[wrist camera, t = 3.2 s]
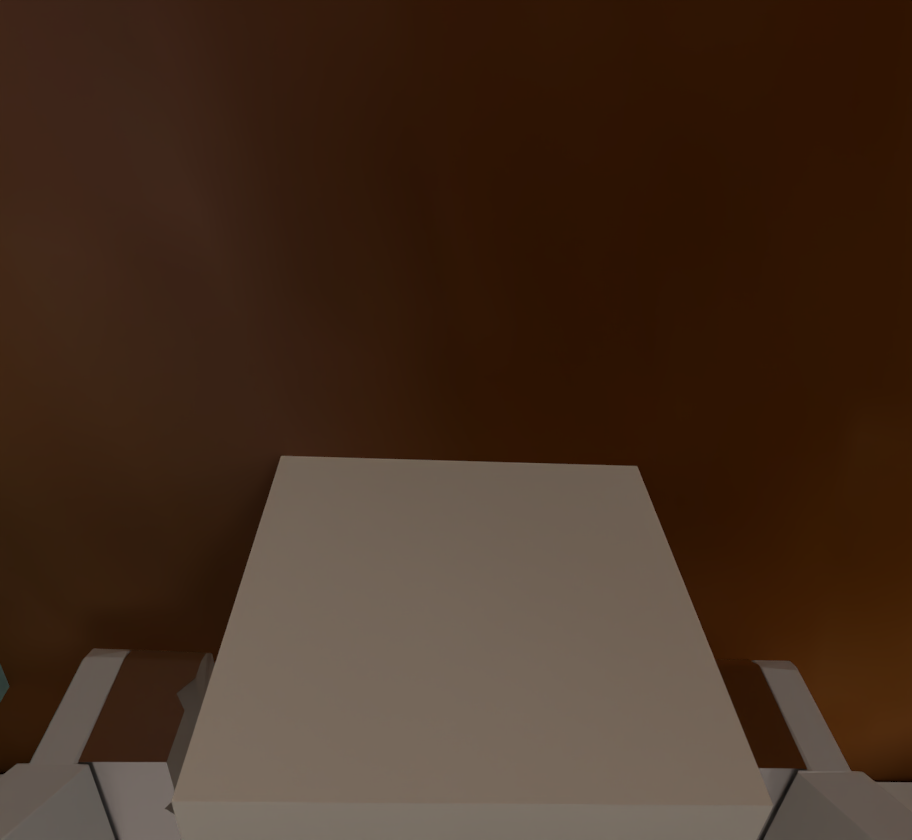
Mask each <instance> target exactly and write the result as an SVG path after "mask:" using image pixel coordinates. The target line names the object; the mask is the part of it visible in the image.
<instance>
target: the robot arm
mask: <svg viewBox="0 0 912 840" xmlns="http://www.w3.org/2000/svg"><path fill="white" fill-rule="evenodd" d="M715 661H716V664H717V666H718V669H719V671H720V674H721V676H722V679H723V681H724V684H725V686H726V689H727V691H728V694H729V696H730V699H731V701H732V704H733V706H734V709H735V711H736V714H737V716H738V719H739V721H740V724H741V726H742V729H743V731H744V734H745V736H746V739H747V741H748V744H749V746H750V748H751V751H752V753H753V756H754V758H755V761H756V763H757V766H758V768H759V771H760V773H761V776H762V778H763V781H764V783H765V786H766V788H767V791H768V793H769V796H770V798H771V801H772V803H773V807H772V809H771V811H770V813H769V815H768V818H767V820H766V822H765V824H764V826H763V828H762V830H761V832H760V834H759V836H758V838H757V840H912V812H911V811H910V810H909V809H908V808H906V807H905V806H904V805H903V804H902V803H900V802H899V801H898V800H897V799H895V798H894V797H893V796H892V795H891V794H889V793H888V792H887V791H886V790H884V789H883V788H882V787H881V786H880V785H878V784H877V783H876V782H875V781H874V780H872V779H871V778H870V777H869V776H867V775H866V774H865V773H864V772H861V771H851V769H850V768H849V766H848V764H847V762H846V760H845V758H844V756H843V754H842V752H841V750H840V749H839V747H838V745H837V743H836V741H835V739H834V737H833V735H832V733H831V731H830V730H829V728H828V726H827V724H826V722H825V720H824V718H823V716H822V714H821V712H820V711H819V709H818V707H817V705H816V703H815V701H814V699H813V697H812V695H811V693H810V692H809V690H808V688H807V686H806V684H805V682H804V680H803V678H802V676H801V674H800V673H799V671H798V669H797V667H796V666H795V665H794V664H793V663H791V662H790V661H772V660H752V661H750V660H748V659H715ZM214 665H215V664H214V660H213V655H212V653H205V652H182V651H159V650H135V649H97V648H93V649H92V650H91V652H90V653H89V654H88V655H87V656H86V657H85V658H84V659H83V660H82V662H81V664H80V666H79V668H78V670H77V672H76V673H75V675H74V677H73V679H72V681H71V683H70V685H69V687H68V689H67V691H66V693H65V695H64V697H63V699H62V701H61V703H60V705H59V707H58V709H57V710H56V712H55V714H54V716H53V718H52V720H51V722H50V724H49V726H48V728H47V730H46V732H45V734H44V736H43V738H42V740H41V742H40V744H39V745H38V747H37V749H36V751H35V753H34V755H33V757H32V759H31V761H30V763H17V764H16V765H14V766H13V767H12V768H11V769H9V770H8V771H7V772H6V773H4V774H3V775H2V776H1V777H0V840H182V839H181V835H180V832H179V828H178V824H177V821H176V817H175V813H174V810H173V806H172V802H171V801H172V798H173V795H174V791H175V788H176V785H177V782H178V779H179V776H180V773H181V769H182V766H183V763H184V760H185V757H186V754H187V750H188V747H189V744H190V741H191V738H192V735H193V732H194V728H195V725H196V722H197V719H198V716H199V713H200V710H201V706H202V703H203V700H204V697H205V694H206V691H207V687H208V684H209V681H210V678H211V675H212V672H213V669H214Z"/></svg>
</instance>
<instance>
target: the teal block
mask: <svg viewBox="0 0 912 840" xmlns="http://www.w3.org/2000/svg"><path fill="white" fill-rule="evenodd" d="M9 687H10V686H9V684H8V681H7V679H6V677H5V674H4V672H3V669H2V667H1V665H0V702H1V700H2V698H3V697H4V695H5V693H6V692H7V690H8V688H9Z"/></svg>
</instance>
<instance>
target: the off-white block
mask: <svg viewBox="0 0 912 840" xmlns="http://www.w3.org/2000/svg"><path fill="white" fill-rule="evenodd" d="M171 802H172V806H173V810H174V813H175V817H176V821H177V824H178V828H179V832H180V835H181V839H182V840H757V838H758V836H759V834H760V832H761V830H762V828H763V826H764V824H765V822H766V820H767V818H768V815H769V813H770V811H771V809H772V807H773V803H772V801H771V798H770V796H769V793H768V791H767V788H766V786H765V783H764V781H763V778H762V776H761V773H760V771H759V768H758V766H757V763H756V761H755V758H754V756H753V753H752V751H751V748H750V746H749V744H748V741H747V739H746V736H745V734H744V731H743V729H742V726H741V724H740V721H739V719H738V716H737V714H736V711H735V709H734V706H733V704H732V701H731V699H730V696H729V694H728V691H727V689H726V686H725V684H724V681H723V679H722V676H721V674H720V671H719V669H718V666H717V664H716V661H715V659H714V656H713V654H712V651H711V649H710V646H709V644H708V641H707V639H706V636H705V634H704V631H703V629H702V626H701V624H700V621H699V619H698V616H697V614H696V611H695V609H694V606H693V604H692V601H691V599H690V596H689V594H688V591H687V589H686V586H685V584H684V581H683V579H682V576H681V574H680V571H679V569H678V566H677V564H676V562H675V559H674V557H673V554H672V552H671V549H670V547H669V544H668V542H667V539H666V537H665V534H664V532H663V529H662V527H661V524H660V522H659V519H658V517H657V514H656V512H655V509H654V507H653V504H652V502H651V499H650V497H649V494H648V492H647V489H646V487H645V484H644V482H643V479H642V477H641V474H640V472H639V469H638V467H637V466H619V465H585V464H550V463H515V462H480V461H446V460H411V459H376V458H341V457H307V456H281V457H280V461H279V464H278V467H277V470H276V473H275V476H274V480H273V483H272V486H271V489H270V492H269V495H268V498H267V502H266V505H265V508H264V511H263V514H262V517H261V520H260V524H259V527H258V530H257V533H256V536H255V539H254V543H253V546H252V549H251V552H250V555H249V558H248V561H247V565H246V568H245V571H244V574H243V577H242V580H241V584H240V587H239V590H238V593H237V596H236V599H235V602H234V606H233V609H232V612H231V615H230V618H229V621H228V624H227V628H226V631H225V634H224V637H223V640H222V643H221V647H220V650H219V653H218V656H217V659H216V662H215V665H214V669H213V672H212V675H211V678H210V681H209V684H208V687H207V691H206V694H205V697H204V700H203V703H202V706H201V710H200V713H199V716H198V719H197V722H196V725H195V728H194V732H193V735H192V738H191V741H190V744H189V747H188V750H187V754H186V757H185V760H184V763H183V766H182V769H181V773H180V776H179V779H178V782H177V785H176V788H175V791H174V795H173V798H172V801H171Z"/></svg>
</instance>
